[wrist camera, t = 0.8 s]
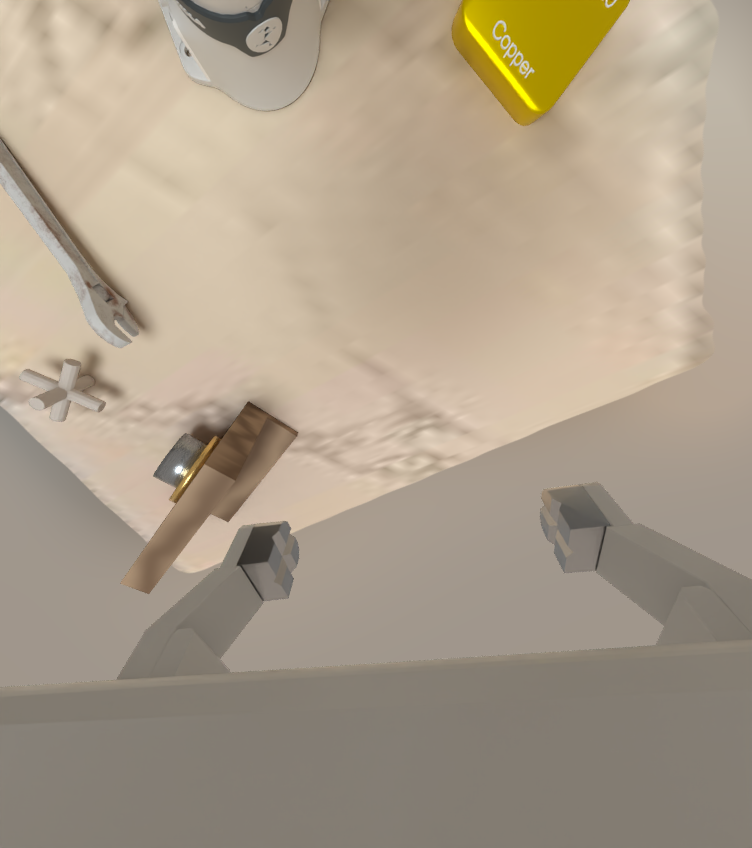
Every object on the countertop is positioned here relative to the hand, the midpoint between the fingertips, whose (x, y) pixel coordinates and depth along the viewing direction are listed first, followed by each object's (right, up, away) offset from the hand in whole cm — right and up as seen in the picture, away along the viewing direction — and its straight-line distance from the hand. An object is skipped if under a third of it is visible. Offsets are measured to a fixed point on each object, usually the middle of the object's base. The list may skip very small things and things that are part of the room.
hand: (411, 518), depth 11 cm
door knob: (-33, -1, +48) cm, 58 cm away
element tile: (+17, +52, +30) cm, 62 cm away
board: (-27, -4, +51) cm, 58 cm away
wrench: (-42, +28, +34) cm, 62 cm away
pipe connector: (-47, +10, +43) cm, 64 cm away
